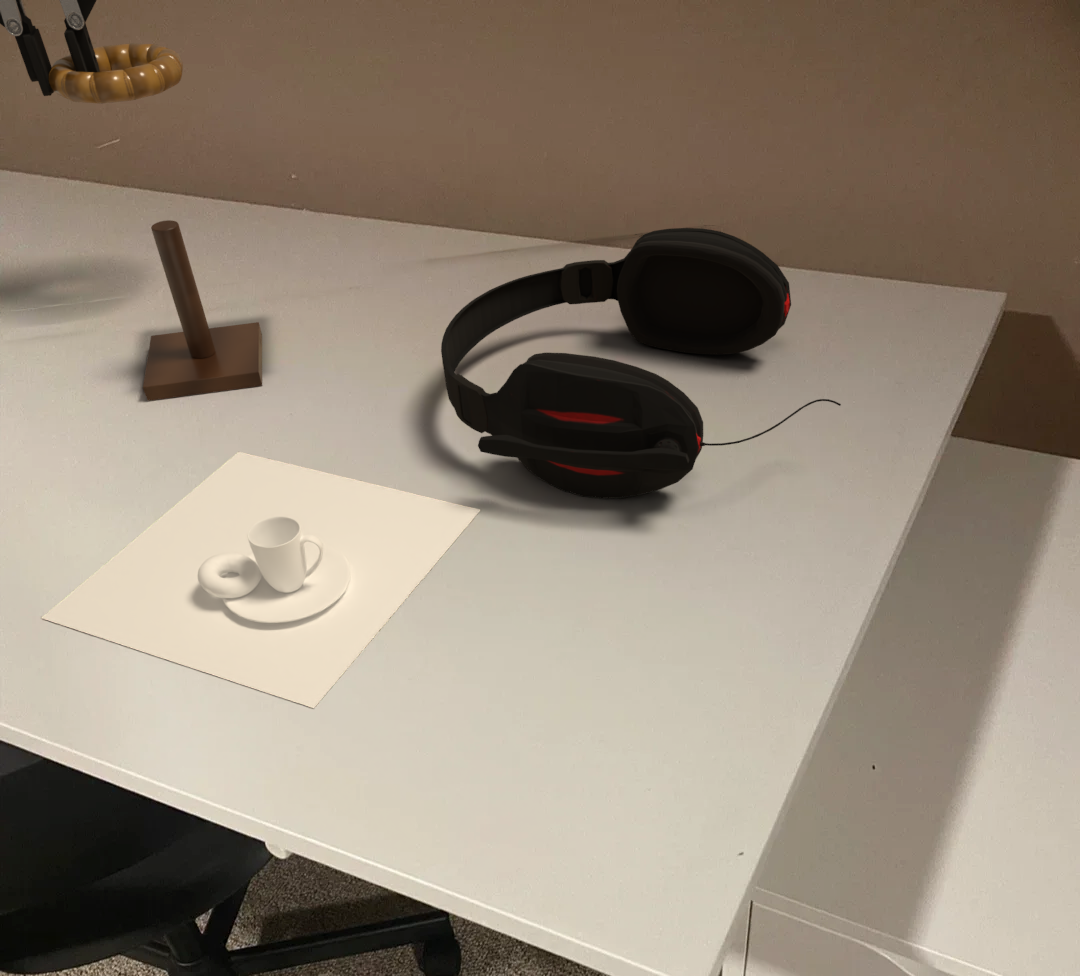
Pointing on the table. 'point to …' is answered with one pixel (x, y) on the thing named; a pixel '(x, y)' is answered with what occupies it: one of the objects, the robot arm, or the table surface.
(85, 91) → the ring
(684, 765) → the table surface
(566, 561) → the table surface
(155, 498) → the table surface
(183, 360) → the rack
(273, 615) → the teacup and saucer
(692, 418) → the headset
